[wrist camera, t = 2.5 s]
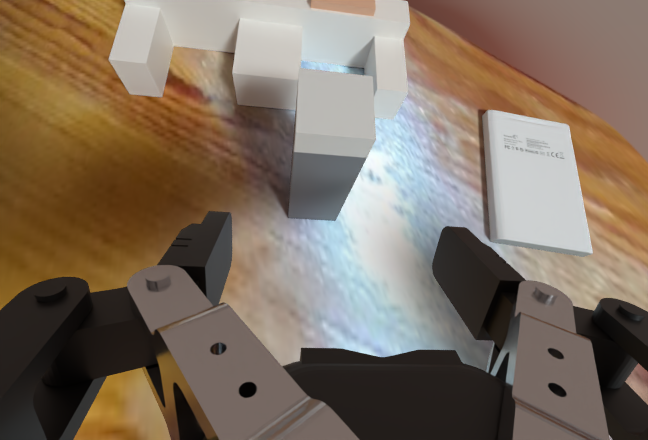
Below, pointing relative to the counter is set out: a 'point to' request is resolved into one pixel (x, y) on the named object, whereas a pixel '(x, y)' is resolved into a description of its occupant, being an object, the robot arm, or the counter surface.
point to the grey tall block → (329, 140)
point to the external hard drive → (533, 185)
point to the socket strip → (267, 44)
